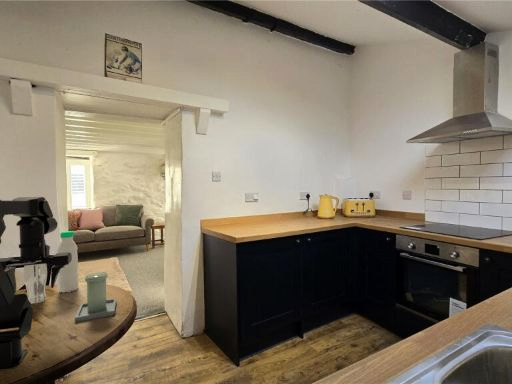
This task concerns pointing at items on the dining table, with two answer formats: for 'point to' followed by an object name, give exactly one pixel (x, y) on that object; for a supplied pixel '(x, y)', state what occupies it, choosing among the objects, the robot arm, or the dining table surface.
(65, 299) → the dining table surface
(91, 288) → the sage green mushroom knob
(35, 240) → the robot arm
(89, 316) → the tray
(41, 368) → the dining table surface
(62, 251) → the white milk bottle
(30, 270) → the beer glass
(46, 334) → the dining table surface
